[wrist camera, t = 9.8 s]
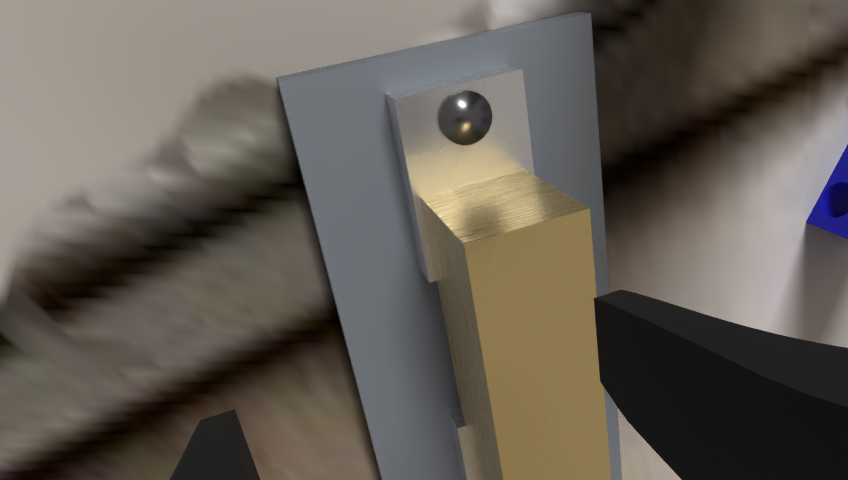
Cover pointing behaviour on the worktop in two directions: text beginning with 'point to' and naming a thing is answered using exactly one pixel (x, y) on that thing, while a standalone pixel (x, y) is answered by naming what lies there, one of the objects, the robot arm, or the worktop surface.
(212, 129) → the worktop surface
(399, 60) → the slate board
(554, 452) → the link bar
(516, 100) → the mounting blocks
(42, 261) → the worktop surface
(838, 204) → the cable clip
